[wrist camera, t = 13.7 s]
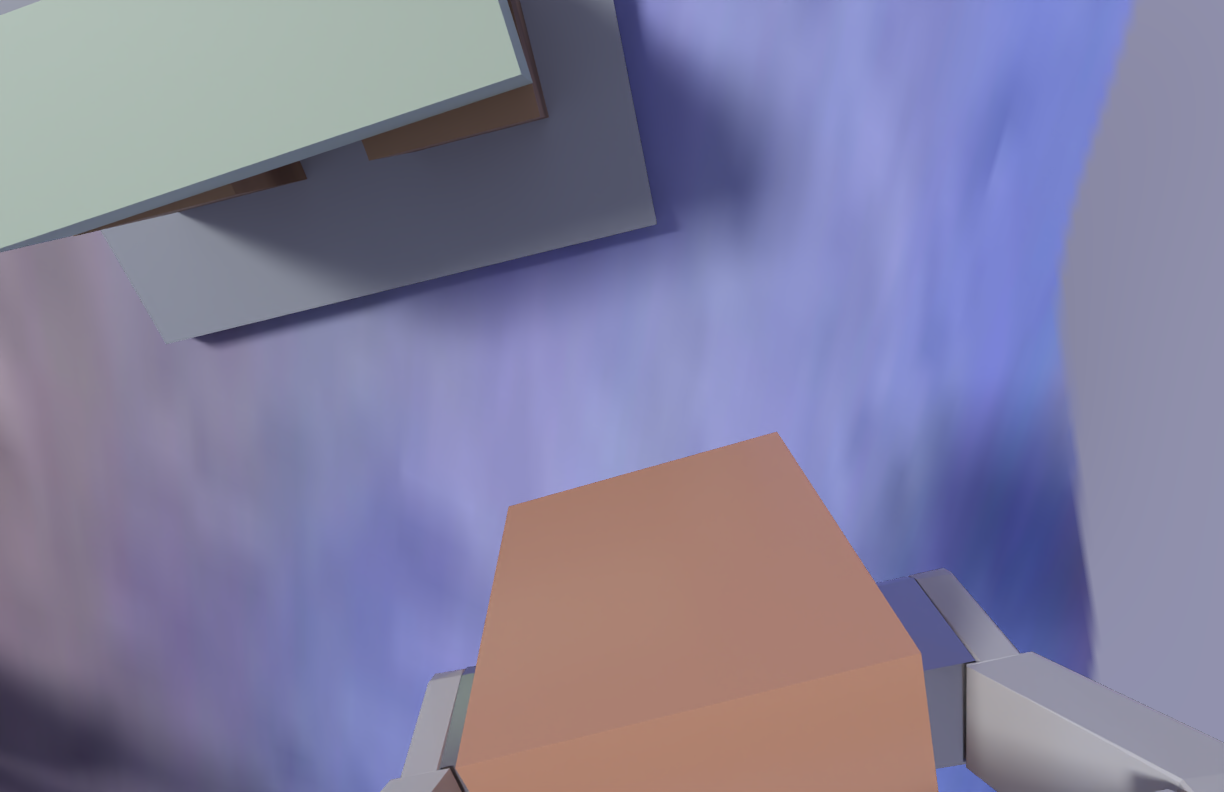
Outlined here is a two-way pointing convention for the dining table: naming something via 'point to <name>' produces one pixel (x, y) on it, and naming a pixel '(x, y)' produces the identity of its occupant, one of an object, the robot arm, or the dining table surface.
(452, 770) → the robot arm
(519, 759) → the cube
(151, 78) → the plank
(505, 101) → the tan wooden block
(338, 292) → the board
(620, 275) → the dining table surface
